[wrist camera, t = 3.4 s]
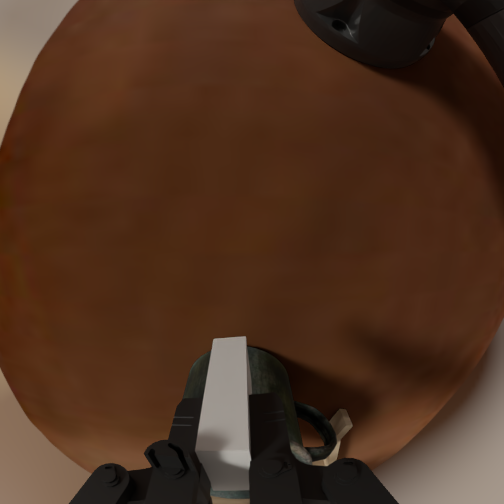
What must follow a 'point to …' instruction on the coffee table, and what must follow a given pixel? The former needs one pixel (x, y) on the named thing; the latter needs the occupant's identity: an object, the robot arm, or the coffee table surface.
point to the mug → (276, 380)
